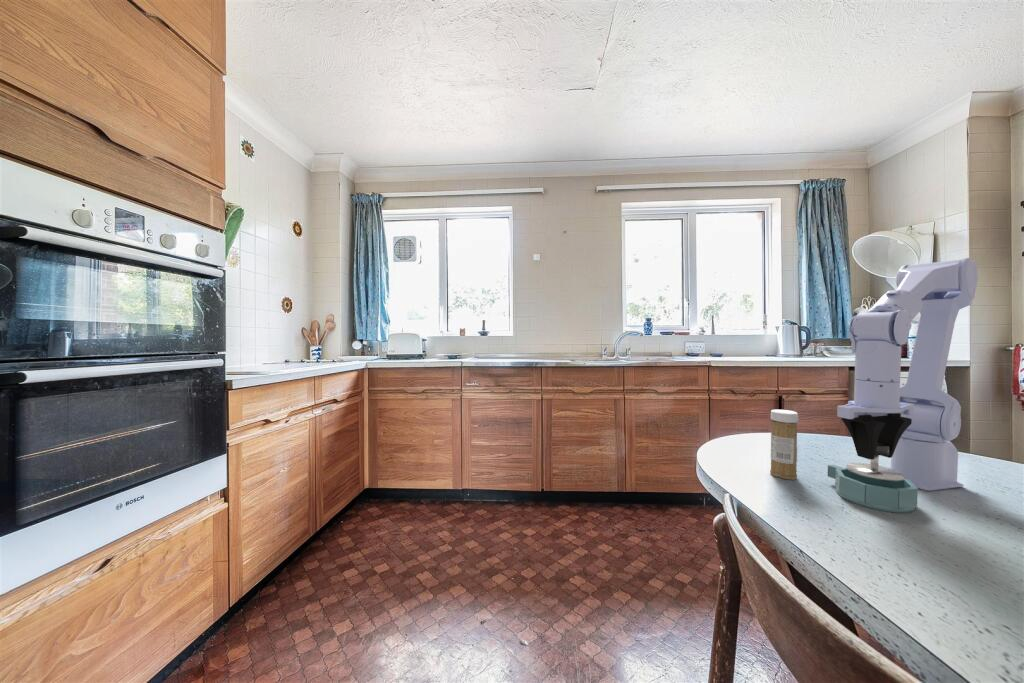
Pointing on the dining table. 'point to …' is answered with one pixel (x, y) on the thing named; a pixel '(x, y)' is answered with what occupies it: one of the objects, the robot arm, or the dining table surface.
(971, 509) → the dining table surface
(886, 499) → the teal tabbed tray
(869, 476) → the doorknob
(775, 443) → the sprinkles bottle
